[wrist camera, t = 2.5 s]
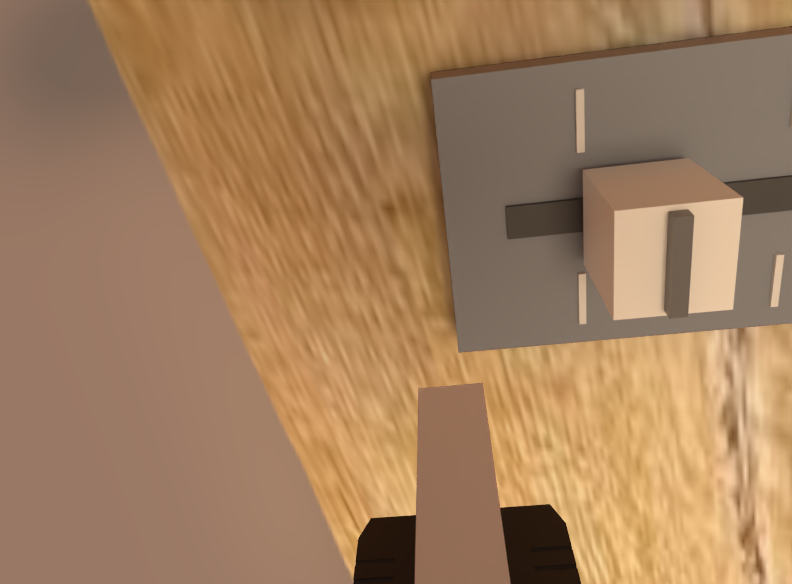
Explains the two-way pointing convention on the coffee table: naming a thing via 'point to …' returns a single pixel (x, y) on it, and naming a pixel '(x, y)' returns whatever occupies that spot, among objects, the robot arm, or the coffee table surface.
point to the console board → (605, 147)
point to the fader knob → (661, 238)
